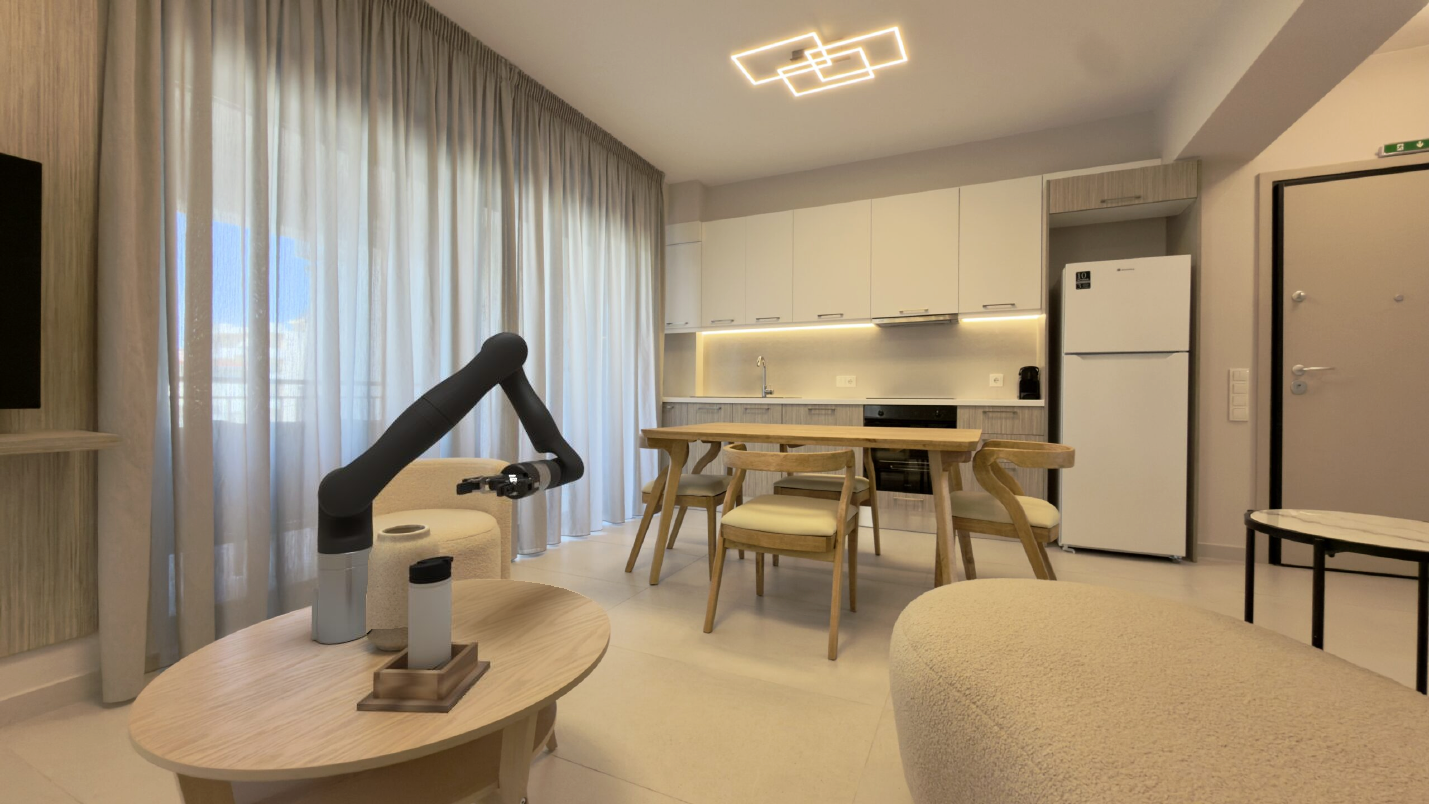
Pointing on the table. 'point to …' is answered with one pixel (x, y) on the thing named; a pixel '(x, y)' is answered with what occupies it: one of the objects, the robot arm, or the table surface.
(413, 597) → the travel mug
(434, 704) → the mug holder
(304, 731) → the table surface
